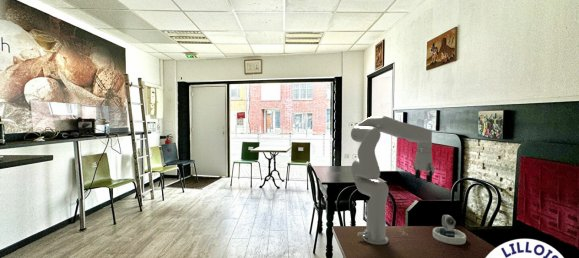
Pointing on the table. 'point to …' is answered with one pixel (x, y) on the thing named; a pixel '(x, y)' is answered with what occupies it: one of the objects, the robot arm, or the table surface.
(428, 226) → the table surface
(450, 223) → the watch
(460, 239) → the dish
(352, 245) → the table surface
